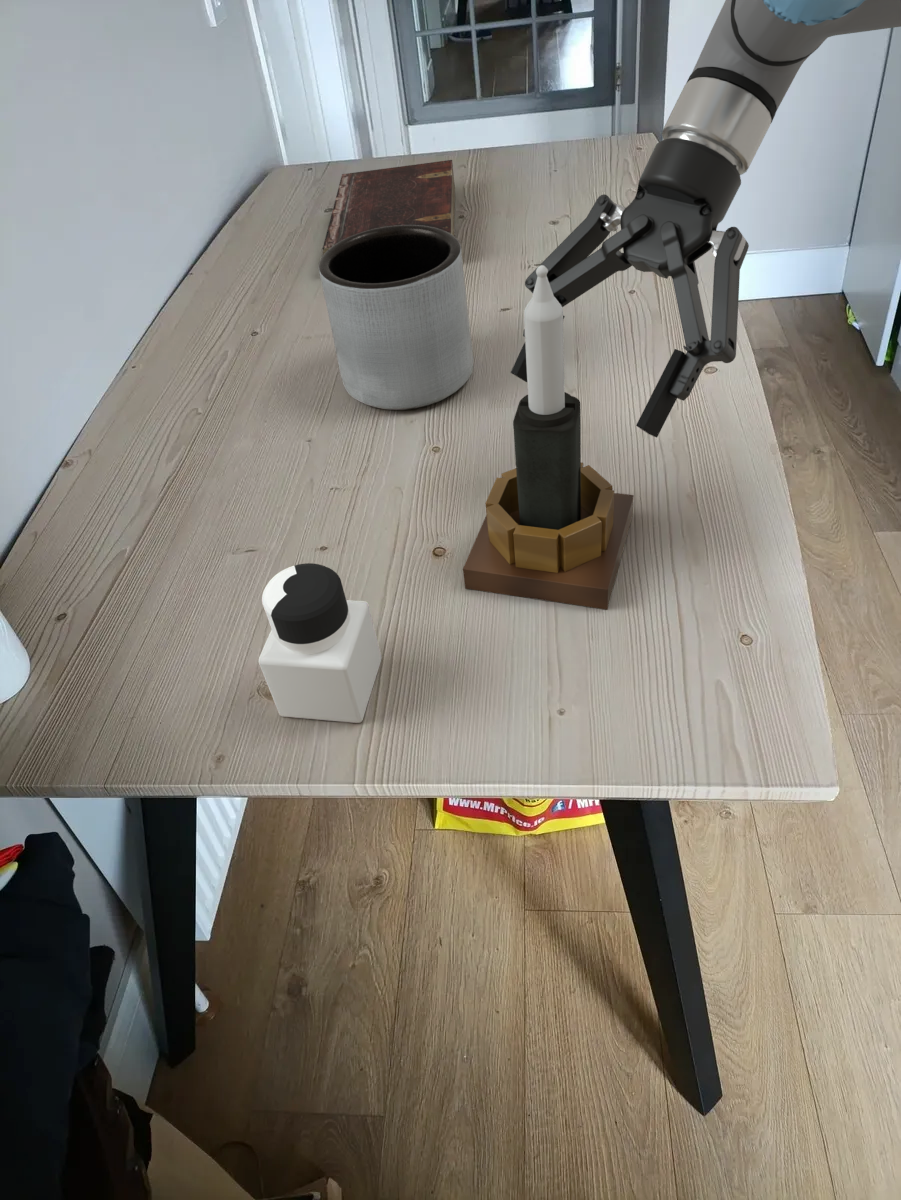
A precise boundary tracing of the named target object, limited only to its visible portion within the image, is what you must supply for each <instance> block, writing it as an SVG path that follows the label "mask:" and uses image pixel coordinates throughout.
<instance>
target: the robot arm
mask: <svg viewBox="0 0 901 1200" xmlns="http://www.w3.org/2000/svg"><path fill="white" fill-rule="evenodd" d="M891 28H892V29H894V28H901V0H725V1H724V2H723V4H722V6H721V9H720V11H719V13H718V15H717V18H716V19H715V22H714V23H713V25H712V28H711V30H710V32H709V35H708V36H707V39H706V41H705V43H704V45H703V48H702V50H701V52H700V54H699V56H698V59H697V61H696V63H695V65H694V67H693V70H692V71H691V73H690V75H689V77H688V78H687V81H686V82H685V84H684V85H683V88H682V90H681V92H680V94H679V96H678V98H677V100H676V102H675V104H674V106H673V108H672V110H671V112H670V114H669V116H668V118H667V120H666V123H664V127H663V128H662V131H661V136H662V140H661V141H658V142H657V143H656V145H655V146H654V148H653V150H652V152H651V154H650V156H649V159H648V160H647V163H646V164H645V167H644V169H643V171H642V173H641V175H640V177H639V180H638V184H637V185H638V186H637V189H636V194H635V196H634V198H633V200H632V201H630V203H629V204H628V205H627V206H623V205H620V204H618V203H617V202H614V201H613V200H612V199H611V198H610V197H609V196H608V195H607V194H605V193H604V194H600V195H599V196H598V197H597V198H596V200H595V202H594V204H593V205H592V207H591V209H590V210H589V212H588V214H587V216H585V217H586V218H585V219H583V220H582V221H581V222H580V223H579V224H578V225H577V226H576V228H575V229H574V230H572V231H571V233H570V234H568V236H566V238H564V240H563V241H562V242H561V243H560V244H559V245H557V247H556V248H555V249H553V251H552V252H551V253H550V254H549V255H548V256H547V257H546V258H545V259H544V260H543V261H542V262H541V263H540V264H539V265H538V266H537V267H536V268H535V269H534V270H533V271H532V272H531V273H530V274H528V276H527V277H526V279H525V281H524V286H525V288H526V289H528V290H529V292H531V293H532V294H533V292H534V288H535V284H536V281H537V277H538V276H537V274H536V270H537V268H538V267H539V266H541V265H543V266H545V267H546V268H547V269H548V273H547V278H548V281H549V284H550V287H551V290H552V292H553V295H554V297H555V298H556V299H557V300H558V302H559V303H560V304H561V306H562V308H564V307H566V306H567V305H568V304H569V303H571V302H573V301H574V300H576V299H578V298H579V297H581V296H582V295H584V294H585V293H587V292H588V291H590V290H591V289H593V288H595V287H596V286H597V285H599V284H600V283H602V282H604V281H605V280H606V279H608V278H610V277H611V276H613V275H614V274H616V273H617V272H623V271H626V270H628V269H630V268H631V267H633V268H634V269H635V270H636V271H640V272H642V273H654V275H656V276H658V277H660V278H663V279H668V278H669V277H671V280H672V284H673V290H674V293H675V298H676V304H677V307H678V314H679V319H680V324H681V330H682V334H683V339H684V345H682V347H683V349H684V350H685V351H686V352H684V351H682V350H680V349H678V348H677V349H676V348H674V349H673V352H672V353H671V355H670V358H669V359H668V361H667V364H666V366H665V367H664V370H663V371H662V373H661V375H660V377H659V379H658V380H657V381H658V382H657V383H656V385H655V387H654V389H653V391H652V393H651V395H650V397H649V399H648V401H647V403H646V405H645V407H644V409H643V411H642V413H641V415H640V417H639V418H638V421H637V423H636V425H635V426H636V427H637V428H639V429H640V430H642V431H643V432H645V433H647V434H648V435H650V436H652V437H654V438H658V436H659V435H660V433H661V431H662V429H663V427H664V425H665V422H666V421H667V419H668V417H669V415H670V414H671V412H672V409H673V407H674V406H675V403H676V402H677V399H678V400H680V401H682V402H684V401H685V400H687V398H688V397H689V396H691V395H690V394H691V393H692V391H693V389H694V387H695V385H696V383H697V381H698V379H699V377H700V375H701V373H702V372H703V370H704V368H705V367H706V365H708V364H710V363H714V362H715V363H716V362H717V363H718V362H722V363H724V364H730V363H732V362H733V361H735V358H736V356H737V344H738V343H737V342H738V321H739V320H738V319H739V318H738V317H739V301H740V300H739V299H740V280H741V279H740V277H741V276H740V275H741V268H742V265H743V264H744V260H745V258H746V256H747V253H748V251H749V246H750V245H749V242H748V241H747V239H746V238H745V236H744V235H743V233H742V232H741V231H740V229H739V228H738V227H736V226H730V227H728V228H727V229H726V230H725V231H723V230H717V229H718V226H719V224H720V223H722V221H723V220H724V219H725V217H726V215H727V213H728V211H729V210H730V209H729V208H730V207H731V205H732V202H733V201H734V199H735V197H736V195H737V193H738V191H739V189H740V187H741V185H742V178H741V176H742V175H744V174H745V173H747V171H748V170H749V168H750V166H751V164H752V162H753V160H754V158H755V156H756V154H757V152H758V150H759V149H760V146H761V144H762V142H763V140H764V138H765V136H766V134H767V132H768V131H769V128H770V126H771V125H772V123H773V121H774V119H775V117H776V113H777V112H778V109H779V108H780V106H781V104H782V102H783V100H784V98H785V96H786V94H787V92H788V91H789V89H790V87H791V85H792V83H793V81H794V79H795V77H796V75H797V74H798V72H799V70H800V69H801V67H802V65H803V64H804V62H805V61H806V60H807V59H808V58H809V57H810V56H811V55H812V54H814V53H815V52H816V51H817V50H818V49H819V48H820V46H821V45H822V44H823V43H824V42H825V41H826V40H827V39H828V38H831V37H835V36H841V35H849V34H857V33H864V32H871V31H879V30H886V29H891ZM619 226H620V230H619V231H618V228H619ZM616 231H617V232H616ZM611 232H615V233H614V234H612V235H611V236H609V235H610V234H611ZM608 237H609V238H608ZM600 245H601V247H600V248H599V246H600ZM598 248H599V249H598ZM596 249H597V250H596ZM595 250H596V251H595ZM620 250H622V251H623V252H622V251H620ZM711 250H712V251H711ZM710 251H711V252H712V255H713V257H714V258H715V259H714V266H713V282H712V283H713V286H712V303H711V304H712V305H711V307H712V308H711V324H710V325H711V326H710V337H709V332H708V327H707V324H706V319H705V313H704V309H703V305H702V300H701V293H700V291H699V283H700V282H699V276H698V272H697V267H696V263H695V262H696V261H697V260H699V259H700V258H701V257H703V256H704V255H706V253H708V252H710ZM564 319H565V315H563V320H564ZM522 337H524V338H525V327H524V329H523V332H522ZM510 370H511V371H510V374H512V375H513V376H515V377H517V378H519V379H520V380H522V381H523V382H525V383H527V365H526V346H525V342H523V345H522V347H521V349H520V351H519V354H518V355H517V357H516V360H515V362H514V364H513V366H512V368H511V369H510Z"/></svg>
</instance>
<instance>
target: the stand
mask: <svg viewBox="0 0 901 1200" xmlns="http://www.w3.org/2000/svg"><path fill="white" fill-rule="evenodd" d="M500 476H501V477H497V476H496V478H495V480H494V483H493V485H492V487H491V490H490V492H489V493H488V496H487V499H486V501H485V505H484V506H485V513H486V514H485V517H484V520H483V521H482V524H481V526H480V529H479V531H478V533H477V535H476V538H475V540H474V542H473V545H472V547H471V549H470V551H469V553H468V556H467V559H466V560H465V563H464V565H463V567H462V574H463V581H464V588H465V589H466V590H473V591H477V592H486V593H493V594H498V595H505V596H506V595H507V596H512V597H519V598H520V597H521V598H525V599H526V598H527V599H533V600H541V601H545V602H554V603H560V604H567V605H573V606H579V607H587V608H593V609H601V610H608V609H609V605H610V602H611V598H612V594H613V591H614V587H615V584H616V579H617V575H618V572H619V568H620V565H621V560H622V557H623V553H624V549H625V546H626V542H627V538H628V535H629V530H630V526H631V523H632V520H633V516H634V499H635V496H634V494H629V493H628V494H627V493H621V492H620V493H618V492H615V490H613V485H612V484H611V483H610V482H609V481H608V480H607V479H605V477H604V476H602V475H601V474H600V473H599V472H598V471H596V470H595V468H593V467H592V466H591V465H589V464H588V465H585V466H584V462H582V461H581V520H580V521H578V522H575V523H573V524H571V525H568V526H566V527H564V528H561V529H559V530H555V529H547V528H539V527H531V526H523V525H520V517H519V503H518V488H517V473H516V467H515V468H513V469H510V470H508V471H507V470H506V471H505V472H503V473H501V474H500Z"/></svg>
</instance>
